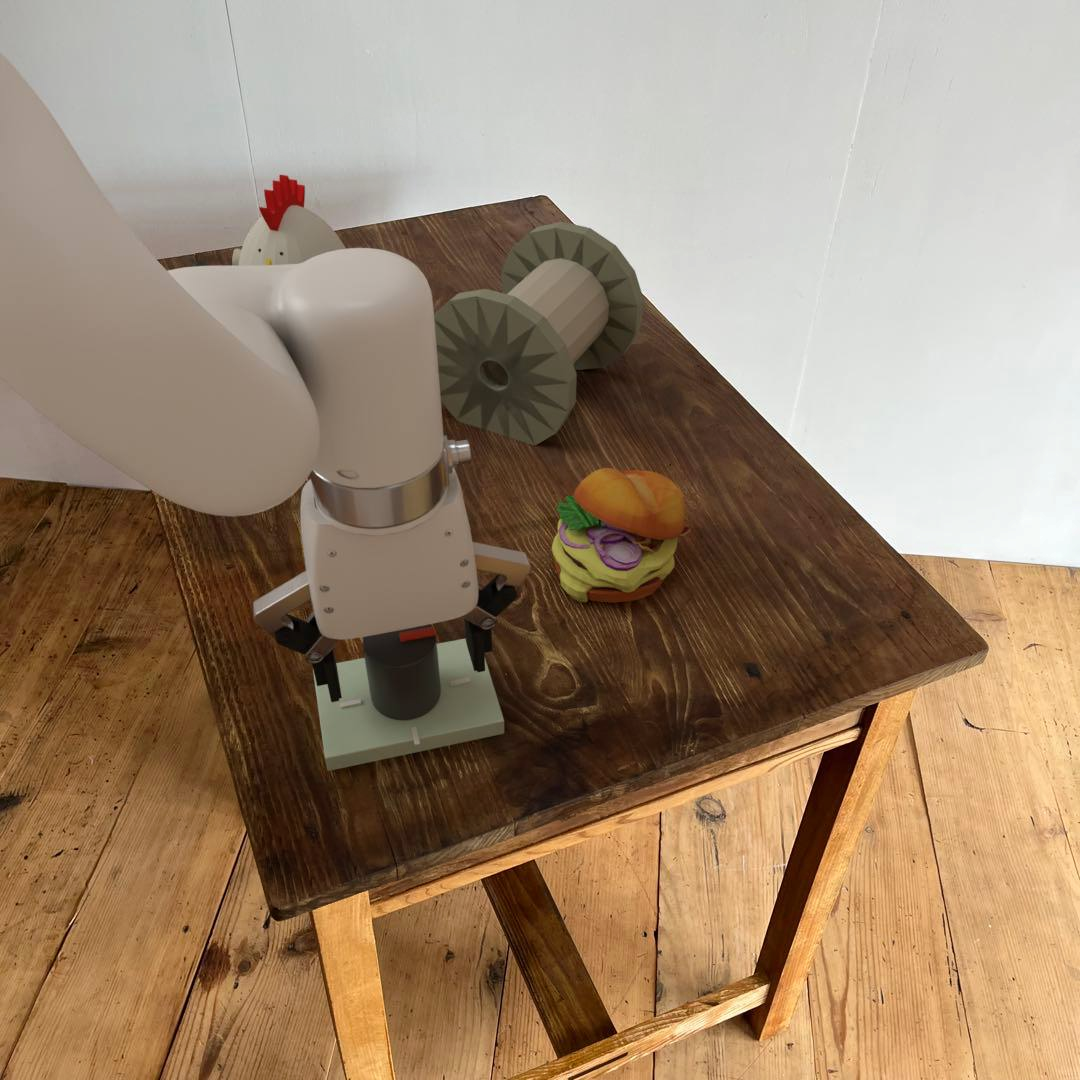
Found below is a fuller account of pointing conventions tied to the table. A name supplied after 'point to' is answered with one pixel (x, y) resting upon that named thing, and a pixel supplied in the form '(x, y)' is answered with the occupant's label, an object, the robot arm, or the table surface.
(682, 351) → the table surface
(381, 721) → the dial panel
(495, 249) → the table surface
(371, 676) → the knob
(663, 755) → the table surface
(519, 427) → the spool
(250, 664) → the table surface
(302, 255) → the kitchen timer
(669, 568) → the cheeseburger
